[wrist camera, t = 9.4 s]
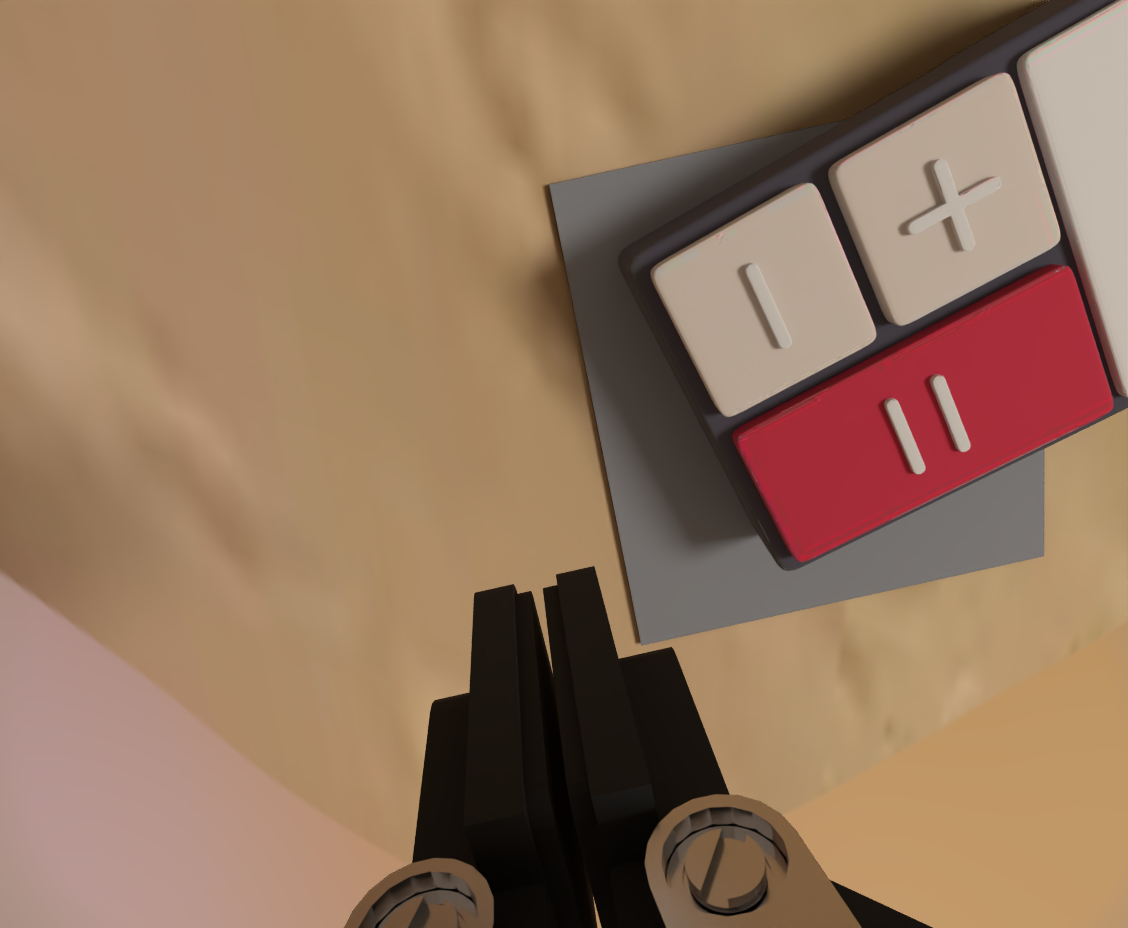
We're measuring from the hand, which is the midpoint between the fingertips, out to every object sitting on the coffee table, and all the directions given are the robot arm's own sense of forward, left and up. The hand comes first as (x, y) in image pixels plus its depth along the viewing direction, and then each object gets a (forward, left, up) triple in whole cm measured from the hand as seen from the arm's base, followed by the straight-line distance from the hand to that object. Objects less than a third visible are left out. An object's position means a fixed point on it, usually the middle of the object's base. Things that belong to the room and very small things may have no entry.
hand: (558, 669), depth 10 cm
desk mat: (+1, +10, -15) cm, 18 cm away
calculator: (-1, +12, -15) cm, 19 cm away
